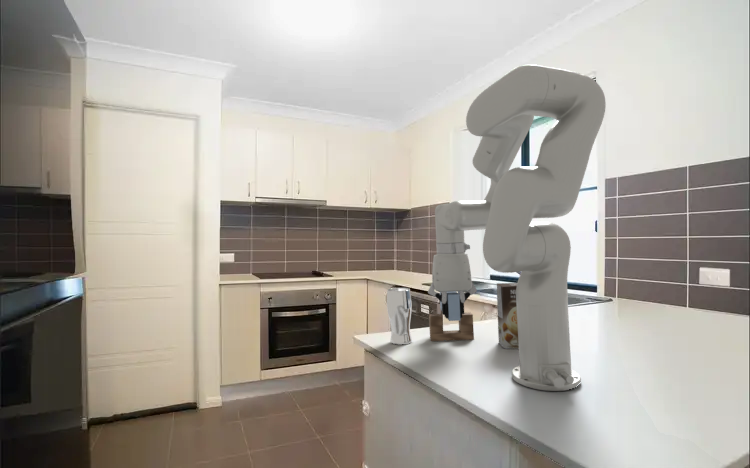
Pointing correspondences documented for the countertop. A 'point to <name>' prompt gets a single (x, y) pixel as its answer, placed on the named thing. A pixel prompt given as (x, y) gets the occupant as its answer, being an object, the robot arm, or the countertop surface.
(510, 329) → the coffee box
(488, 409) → the countertop surface
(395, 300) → the beer glass
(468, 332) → the brown wooden u-shaped block
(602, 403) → the countertop surface
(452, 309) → the pale blue tapered slab
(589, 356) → the countertop surface
